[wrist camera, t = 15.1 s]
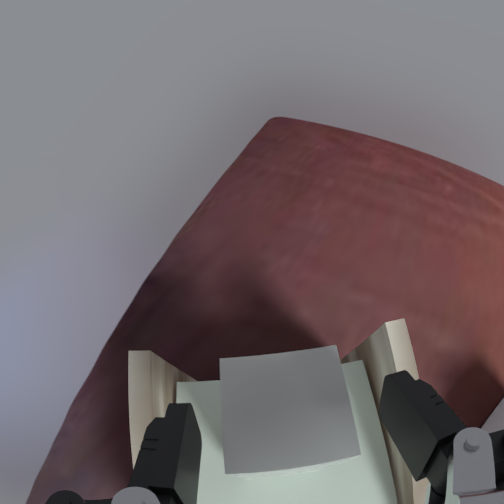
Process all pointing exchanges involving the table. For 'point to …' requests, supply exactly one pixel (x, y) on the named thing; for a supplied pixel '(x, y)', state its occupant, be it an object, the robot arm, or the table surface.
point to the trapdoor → (301, 484)
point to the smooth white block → (285, 413)
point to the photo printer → (495, 419)
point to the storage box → (370, 351)
